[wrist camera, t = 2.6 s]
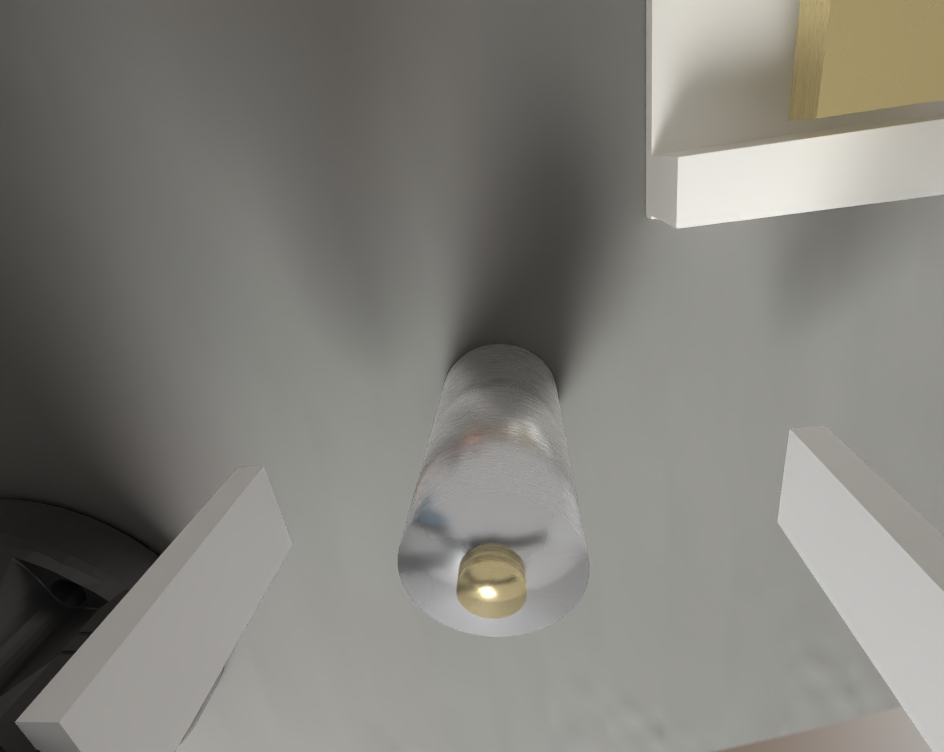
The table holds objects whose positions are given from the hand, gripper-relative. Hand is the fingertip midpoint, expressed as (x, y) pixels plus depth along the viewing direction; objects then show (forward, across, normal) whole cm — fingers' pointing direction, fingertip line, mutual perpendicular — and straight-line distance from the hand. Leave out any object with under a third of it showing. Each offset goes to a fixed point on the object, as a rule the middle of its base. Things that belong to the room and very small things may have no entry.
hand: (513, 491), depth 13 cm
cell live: (+5, -1, 0) cm, 5 cm away
